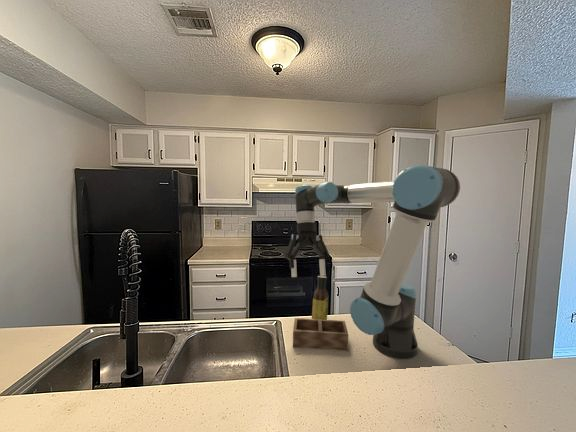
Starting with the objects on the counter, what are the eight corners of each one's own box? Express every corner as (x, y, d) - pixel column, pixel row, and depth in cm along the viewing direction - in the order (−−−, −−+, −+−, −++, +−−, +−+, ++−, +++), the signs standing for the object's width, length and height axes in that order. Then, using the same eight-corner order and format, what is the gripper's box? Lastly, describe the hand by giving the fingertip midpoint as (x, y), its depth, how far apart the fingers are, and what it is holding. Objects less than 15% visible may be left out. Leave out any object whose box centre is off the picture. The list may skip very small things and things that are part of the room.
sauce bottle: (328, 328, 110) (331, 278, 111) (312, 328, 109) (316, 277, 110) (324, 323, 116) (328, 275, 117) (309, 322, 116) (313, 274, 117)
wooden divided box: (344, 335, 106) (344, 320, 106) (347, 350, 96) (348, 334, 96) (294, 332, 108) (294, 317, 107) (292, 347, 98) (293, 330, 97)
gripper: (324, 226, 122) (328, 275, 117) (274, 223, 109) (276, 277, 105) (335, 223, 115) (339, 274, 111) (283, 219, 103) (286, 277, 99)
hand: (309, 276), depth 108 cm, fingers open, 13 cm apart
